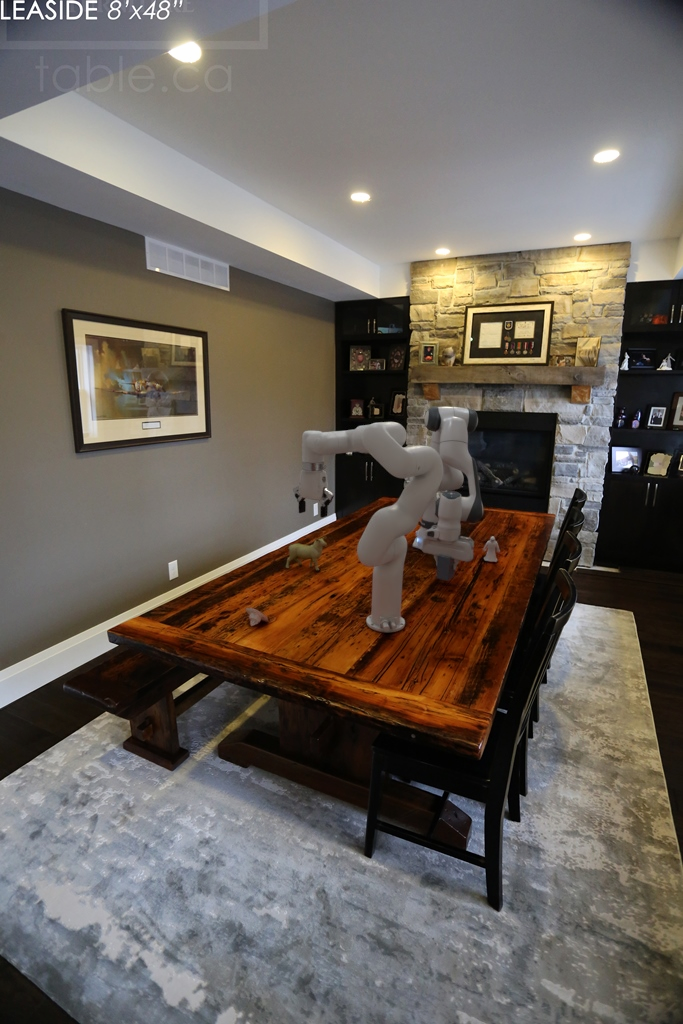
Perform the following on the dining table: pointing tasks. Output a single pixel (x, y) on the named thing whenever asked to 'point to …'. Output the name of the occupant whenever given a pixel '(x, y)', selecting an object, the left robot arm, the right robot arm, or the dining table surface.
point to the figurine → (491, 550)
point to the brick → (445, 567)
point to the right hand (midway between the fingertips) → (446, 567)
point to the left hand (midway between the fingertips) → (312, 514)
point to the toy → (306, 552)
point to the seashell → (255, 616)
